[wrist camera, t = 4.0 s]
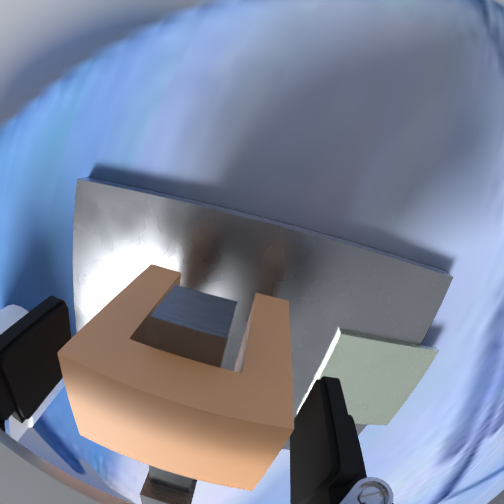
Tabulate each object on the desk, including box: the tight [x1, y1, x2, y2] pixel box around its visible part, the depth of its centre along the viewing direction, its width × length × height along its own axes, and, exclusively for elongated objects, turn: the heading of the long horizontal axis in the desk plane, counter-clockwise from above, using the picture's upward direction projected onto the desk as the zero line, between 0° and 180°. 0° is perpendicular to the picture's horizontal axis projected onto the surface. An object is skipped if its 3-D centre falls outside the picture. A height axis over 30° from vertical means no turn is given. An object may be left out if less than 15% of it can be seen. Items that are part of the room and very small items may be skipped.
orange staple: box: [57, 264, 294, 491], centre depth 9 cm, size 4×6×7 cm, turn 76°
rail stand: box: [73, 177, 453, 504], centre depth 12 cm, size 16×22×9 cm
